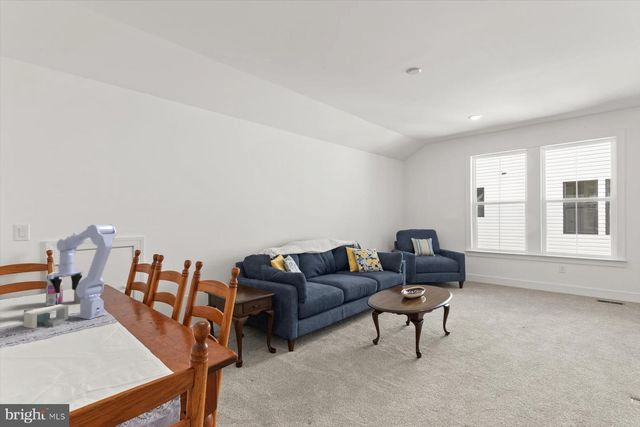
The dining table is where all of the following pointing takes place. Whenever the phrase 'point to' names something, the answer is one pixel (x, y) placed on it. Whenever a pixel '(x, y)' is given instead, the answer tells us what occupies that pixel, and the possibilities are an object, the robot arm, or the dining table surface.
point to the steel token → (54, 321)
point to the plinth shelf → (31, 316)
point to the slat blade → (41, 316)
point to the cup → (76, 297)
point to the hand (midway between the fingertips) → (66, 291)
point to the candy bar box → (53, 292)
